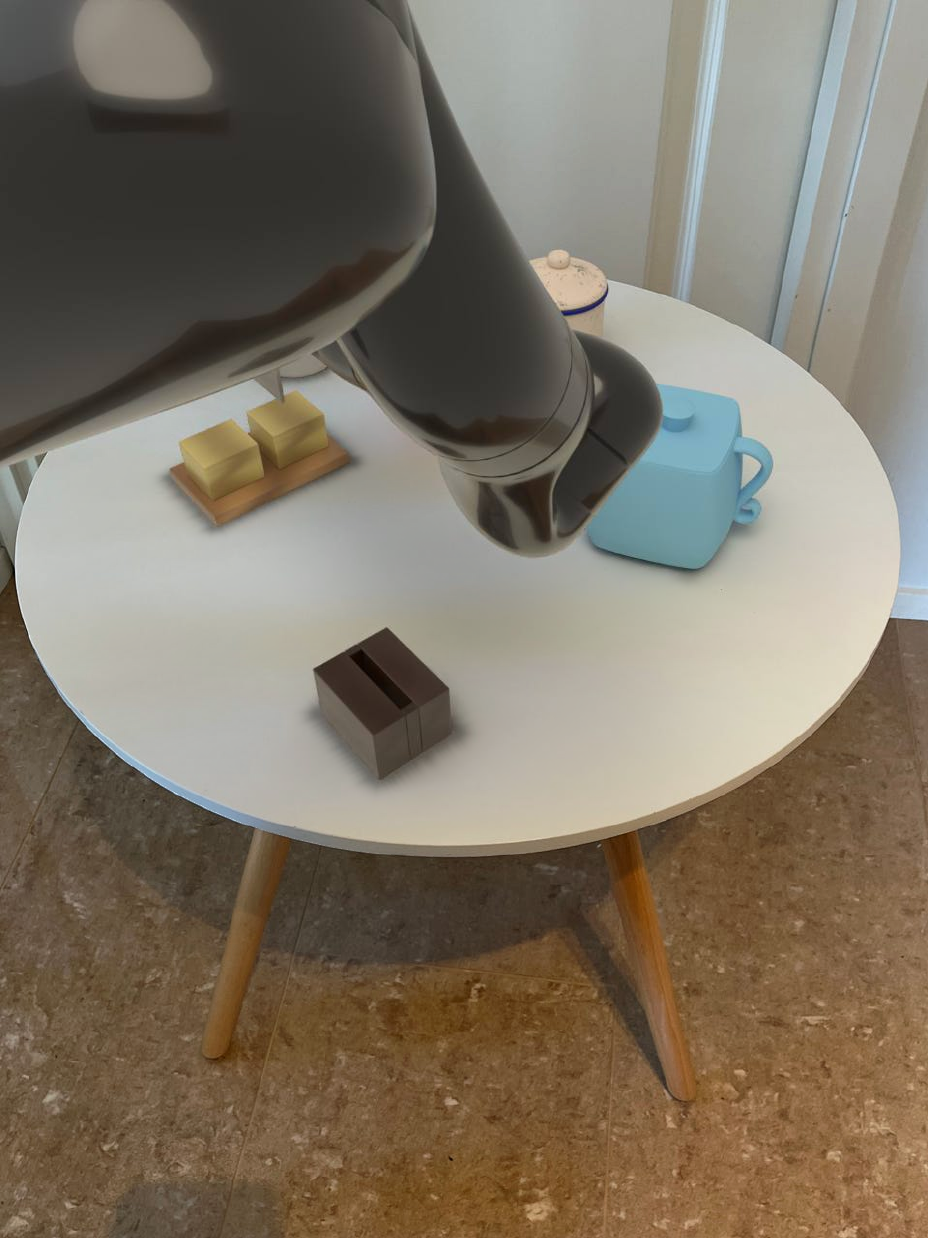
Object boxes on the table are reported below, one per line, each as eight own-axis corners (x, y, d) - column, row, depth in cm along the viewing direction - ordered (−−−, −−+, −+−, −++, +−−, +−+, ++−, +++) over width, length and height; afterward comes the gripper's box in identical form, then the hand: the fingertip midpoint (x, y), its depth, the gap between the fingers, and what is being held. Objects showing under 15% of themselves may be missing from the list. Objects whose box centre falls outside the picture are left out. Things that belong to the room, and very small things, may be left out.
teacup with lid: (551, 330, 105) (555, 218, 97) (621, 366, 101) (632, 252, 92) (464, 381, 100) (461, 267, 91) (535, 421, 95) (538, 305, 87)
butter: (217, 527, 86) (205, 483, 83) (172, 479, 91) (159, 435, 87) (349, 463, 92) (343, 419, 88) (300, 420, 96) (293, 377, 93)
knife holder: (379, 781, 69) (372, 735, 65) (321, 715, 73) (312, 668, 69) (452, 735, 71) (449, 688, 68) (392, 673, 75) (386, 626, 72)
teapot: (559, 452, 92) (564, 337, 84) (767, 495, 88) (795, 377, 79) (513, 544, 84) (515, 426, 76) (740, 596, 80) (768, 477, 71)
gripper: (456, 200, 58) (293, 106, 68) (234, 284, 53) (91, 169, 62) (460, 320, 64) (309, 218, 73) (259, 408, 58) (124, 285, 68)
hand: (209, 196), depth 68 cm, fingers closed on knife, 2 cm apart
